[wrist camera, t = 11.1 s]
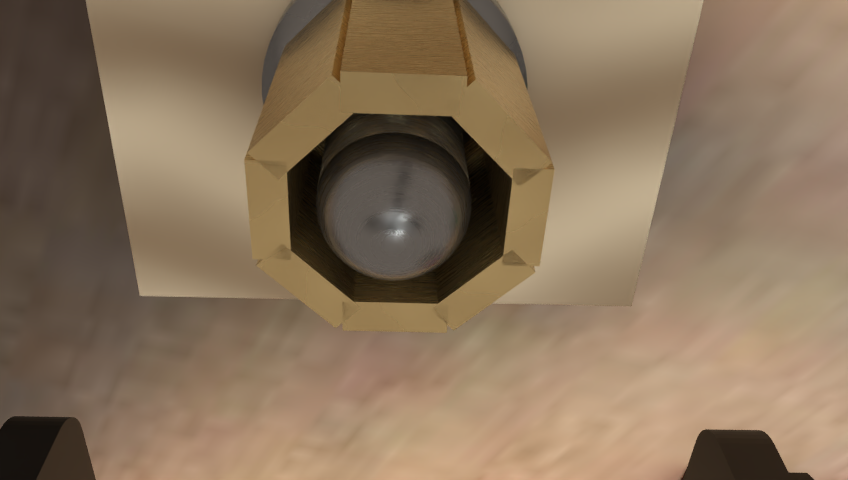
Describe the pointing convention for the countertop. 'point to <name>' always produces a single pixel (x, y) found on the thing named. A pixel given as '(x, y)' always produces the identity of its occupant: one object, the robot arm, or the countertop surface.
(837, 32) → the countertop surface
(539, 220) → the collar
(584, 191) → the board
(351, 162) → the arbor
